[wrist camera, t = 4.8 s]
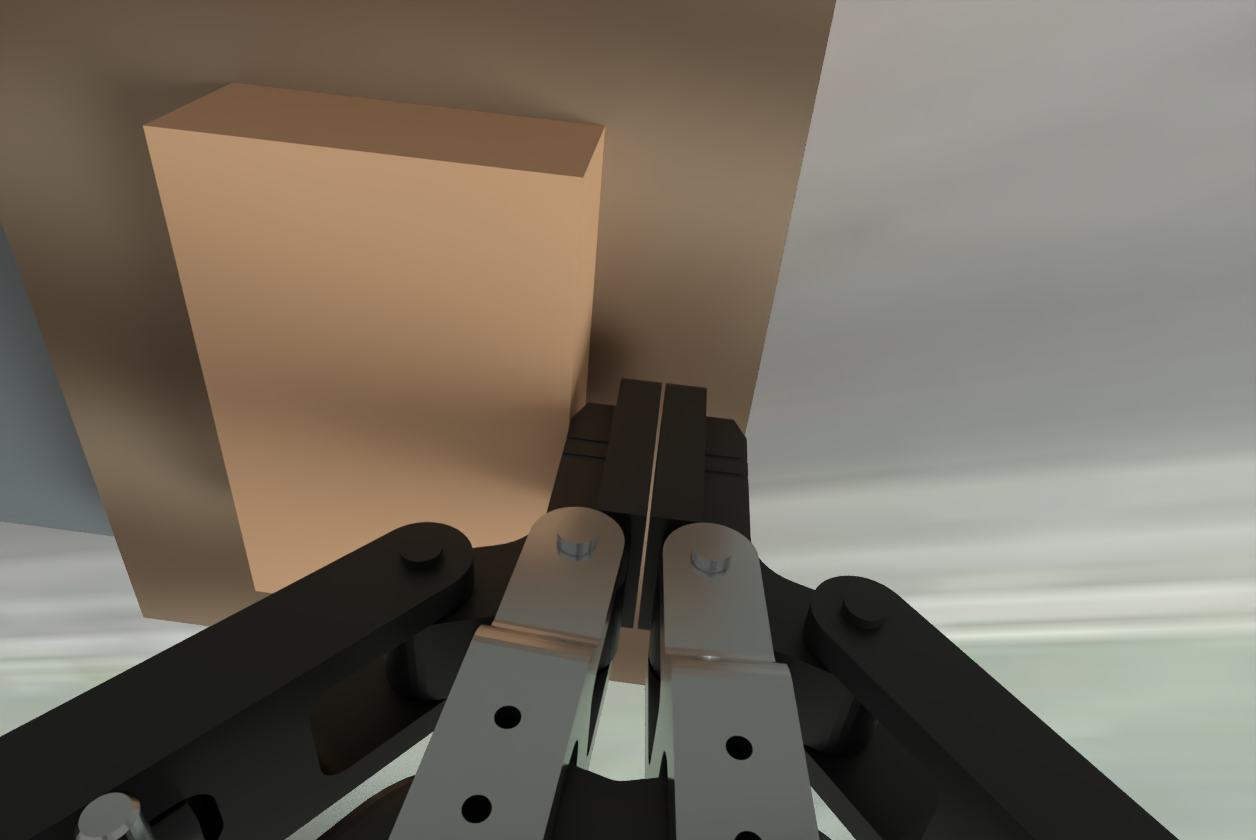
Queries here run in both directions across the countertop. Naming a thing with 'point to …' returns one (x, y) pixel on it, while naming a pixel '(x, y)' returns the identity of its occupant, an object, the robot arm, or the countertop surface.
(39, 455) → the slate mat
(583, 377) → the tan rectangular block
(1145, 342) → the countertop surface
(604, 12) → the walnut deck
